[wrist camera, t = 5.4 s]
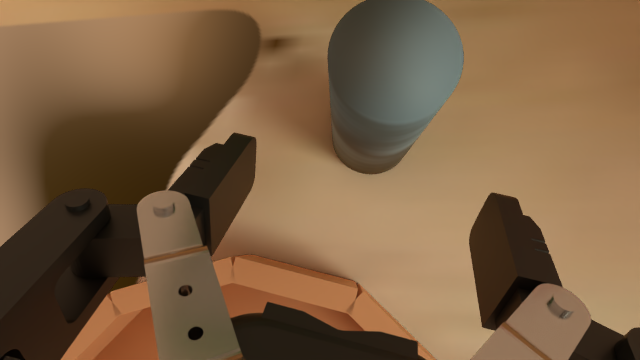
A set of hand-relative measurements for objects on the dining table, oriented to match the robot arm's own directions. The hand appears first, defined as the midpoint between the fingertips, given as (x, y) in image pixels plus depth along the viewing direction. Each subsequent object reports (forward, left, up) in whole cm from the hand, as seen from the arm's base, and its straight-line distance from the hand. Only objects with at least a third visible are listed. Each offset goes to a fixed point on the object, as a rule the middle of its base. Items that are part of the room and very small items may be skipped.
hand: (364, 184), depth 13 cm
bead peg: (0, -4, -9) cm, 10 cm away
